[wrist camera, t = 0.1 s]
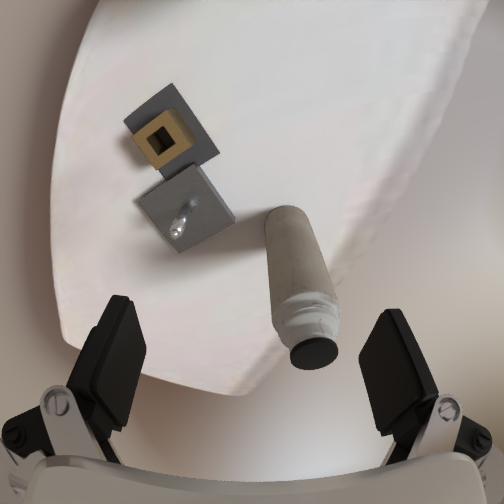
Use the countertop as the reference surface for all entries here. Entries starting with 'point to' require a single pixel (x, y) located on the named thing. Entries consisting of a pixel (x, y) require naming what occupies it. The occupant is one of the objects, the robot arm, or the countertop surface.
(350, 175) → the countertop surface
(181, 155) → the mat
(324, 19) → the countertop surface
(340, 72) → the countertop surface
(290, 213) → the thermos bottle
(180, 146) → the collar
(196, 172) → the grey peg stand
